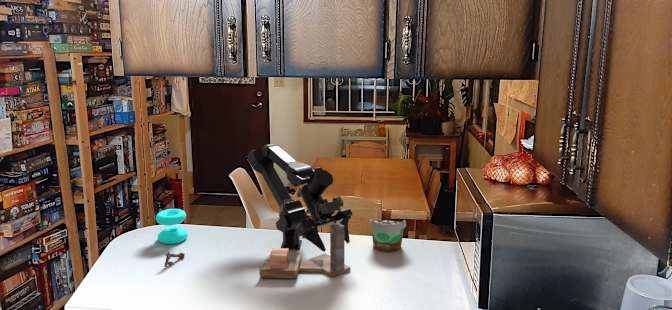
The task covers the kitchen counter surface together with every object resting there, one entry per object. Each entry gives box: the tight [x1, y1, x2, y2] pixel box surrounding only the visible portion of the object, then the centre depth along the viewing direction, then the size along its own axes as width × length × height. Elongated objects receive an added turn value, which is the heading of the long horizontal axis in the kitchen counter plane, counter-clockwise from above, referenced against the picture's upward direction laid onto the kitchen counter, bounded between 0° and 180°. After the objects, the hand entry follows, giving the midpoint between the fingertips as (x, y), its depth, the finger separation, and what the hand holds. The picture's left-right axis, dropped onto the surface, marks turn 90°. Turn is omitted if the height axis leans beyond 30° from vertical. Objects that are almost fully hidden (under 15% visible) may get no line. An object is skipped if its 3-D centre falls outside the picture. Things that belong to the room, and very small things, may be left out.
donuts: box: [155, 208, 189, 245], centre depth 175 cm, size 10×10×10 cm
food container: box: [368, 218, 407, 253], centre depth 166 cm, size 12×6×10 cm, turn 80°
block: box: [269, 247, 290, 269], centre depth 152 cm, size 5×5×5 cm
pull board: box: [258, 223, 352, 279], centre depth 152 cm, size 21×24×15 cm
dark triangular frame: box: [164, 251, 186, 268], centre depth 158 cm, size 2×8×4 cm, turn 157°
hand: (336, 246), depth 151 cm, fingers open, 9 cm apart
